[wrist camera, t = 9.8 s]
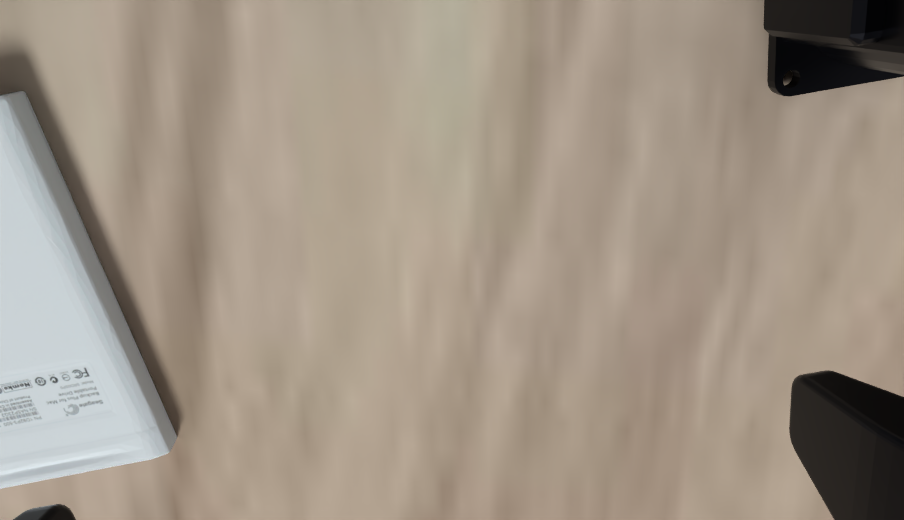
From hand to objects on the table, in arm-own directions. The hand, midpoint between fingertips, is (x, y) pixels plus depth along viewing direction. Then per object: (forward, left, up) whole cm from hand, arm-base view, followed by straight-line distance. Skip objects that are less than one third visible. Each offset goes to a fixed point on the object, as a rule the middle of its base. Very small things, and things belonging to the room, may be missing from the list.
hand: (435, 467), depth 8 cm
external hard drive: (+14, +2, -14) cm, 20 cm away
